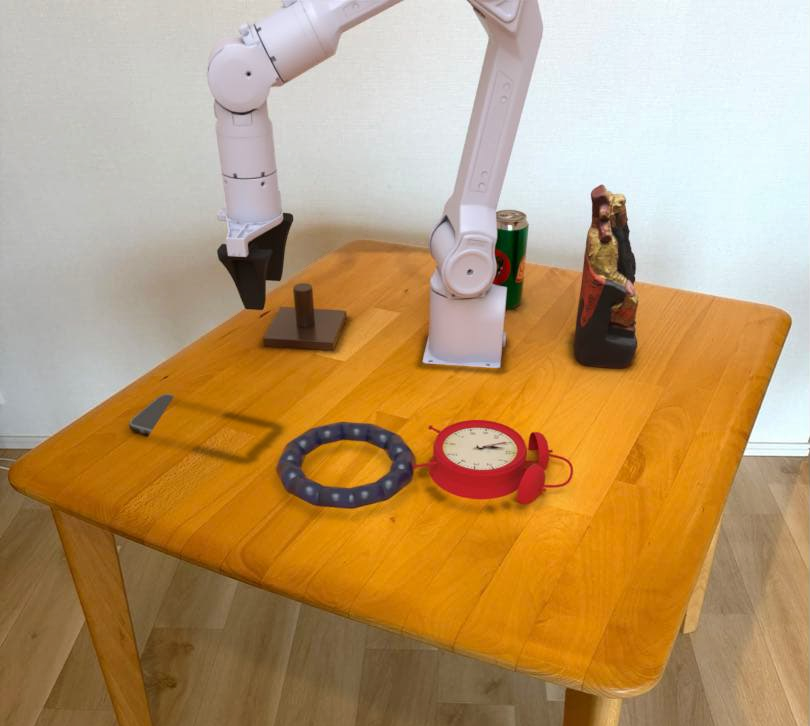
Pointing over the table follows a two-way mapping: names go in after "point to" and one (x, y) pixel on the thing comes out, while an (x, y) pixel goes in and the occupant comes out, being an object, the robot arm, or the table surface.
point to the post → (305, 324)
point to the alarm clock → (489, 461)
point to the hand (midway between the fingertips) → (263, 293)
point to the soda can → (511, 254)
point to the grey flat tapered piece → (150, 415)
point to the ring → (342, 496)
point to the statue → (607, 287)
